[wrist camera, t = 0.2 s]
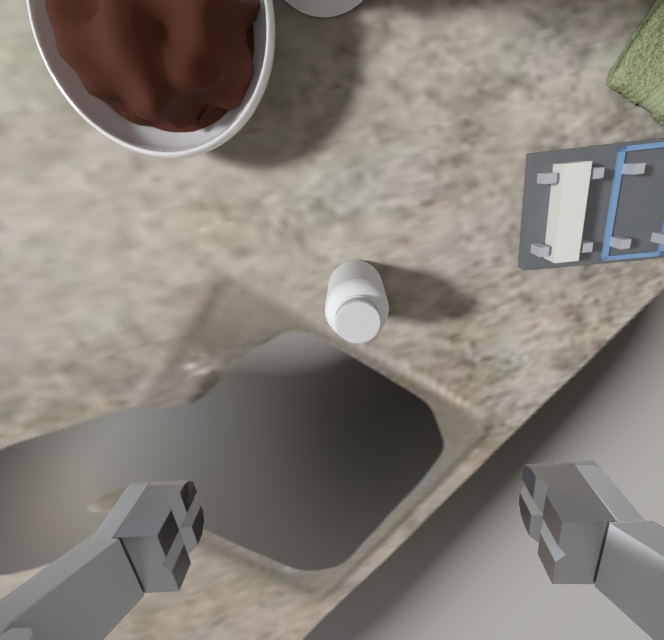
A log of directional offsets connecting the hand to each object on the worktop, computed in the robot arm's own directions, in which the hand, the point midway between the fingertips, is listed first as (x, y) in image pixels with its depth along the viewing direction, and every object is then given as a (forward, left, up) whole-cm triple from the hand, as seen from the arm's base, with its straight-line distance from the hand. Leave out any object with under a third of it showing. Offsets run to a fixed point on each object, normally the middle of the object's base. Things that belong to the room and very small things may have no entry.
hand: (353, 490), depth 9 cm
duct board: (+1, +32, -48) cm, 57 cm away
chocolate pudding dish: (-23, -18, -48) cm, 56 cm away
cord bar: (+1, +27, -46) cm, 53 cm away
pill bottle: (+9, 0, -48) cm, 49 cm away
